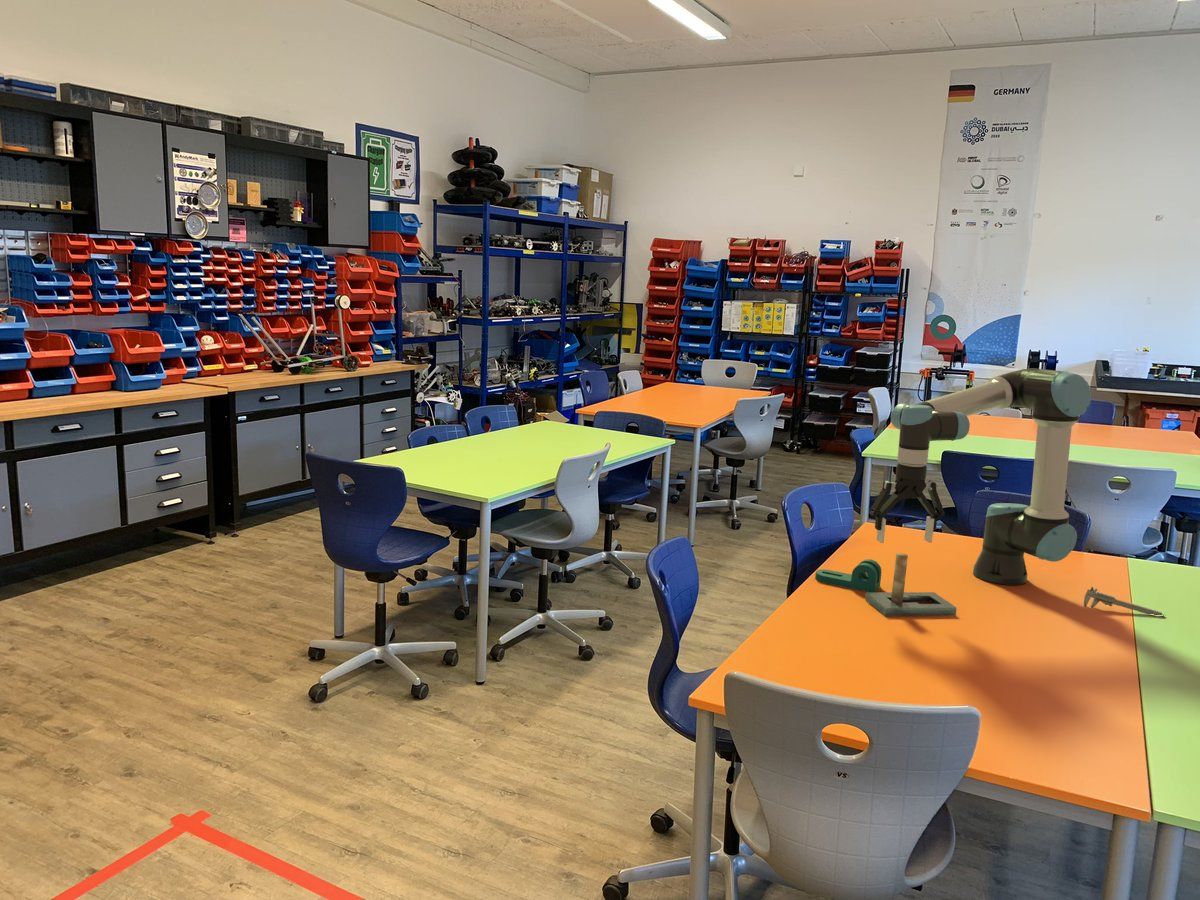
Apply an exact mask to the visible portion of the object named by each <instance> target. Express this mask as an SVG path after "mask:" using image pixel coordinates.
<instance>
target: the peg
mask: <svg viewBox="0 0 1200 900" xmlns="http://www.w3.org/2000/svg"><path fill="white" fill-rule="evenodd" d="M908 557H909V555H908V554H907V553H903V552H897V553H896V554H895V561H894V570H893V579H892V580H893V581H892V589H891V592H892V596H891V601H892V602H893V603H904V602H903V595H904V592H905V584H906V576H907V567H908V566H907V565H908V559H909V558H908Z"/></svg>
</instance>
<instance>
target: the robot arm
mask: <svg viewBox="0 0 1200 900" xmlns="http://www.w3.org/2000/svg"><path fill="white" fill-rule="evenodd" d="M1091 401H1092V391H1091V387H1090V384H1089V383H1088V381H1087V380H1086V379H1085V378H1084V377H1083V376H1082V375H1080V374H1079V373H1078V374H1077V373H1073V372H1069V371H1063V370H1055V369H1054V370H1053V369H1045V368H1044V369H1043V368H1042V369H1041V368H1037V367H1035V368H1034V367H1033V368H1032V367H1031V368H1029V367H1028V368H1022V369H1018V370H1014V371H1010V372H1006V373H1003V374H999V375H997V376H994V377H992V378H990V379H989V380H988V382H986V383H982V384H979V385H976V386H972V387H969V388H966V389H962V390H958V391H956V392H952V393H948V394H945V395H942V396H938V397H935V398H932V399H929V400H926V401H922V402H918V403H915V404H911V403H900V404H899V403H898V404H897V405H896V406H895V407H893V409H892V411H891V414H890V421H891V424H892V426H893V427H894V428H895V429H898V430H899V437H898V438H899V439H898V440H899V441H898V447H897V448H898V451H897V463H896V469H895V481H894V482H893V481H889V480H884V481H883V483H882V484H883V485H882V489H881V490H880V492H879V494H878V496H876V499H875V500H874V503H873V504H872V506H871V507H870V509H869V512H868V513H869V514H870V515H871V516H873V517H875V521H874V522H875V523H874V529H876V531H877V533H876V541H877V542H879V543H880V544H884V543H885V533H886V523H887V519H886V518H885V516H886V515H887V514H888V513H889V512H890V511H891V510H892V509H893V508H894V506H895V505H897V503H898V502H900V501H901V500H902V499H904V500H908V499H913V500H916V499H917V500H918V501H919V502H920V504H921V505H922V507H923V508H924V509H925V510H926V512H927V514H928V515H929V516H926V520H925V528H924V529H925V530H924V536H923V537H924V541H926V542H927V543H933V537H934V536H933V535H934V530H936V529H937V523H938V520H939V519H941V517H944V516H945V515H946V512H945V510H944V507H943V504H942V502H941V500H940V496H939V494H938V491H937V483H936V482H935V481H932V480H927V481H926V478H927V477H926V476H927V469H928V467H927V464H928V460H929V451H930V450H929V449H930V442H934V441H935V442H936V441H937V442H938V441H939V442H940V441H957V440H963V439H965V437H967V436H968V434H969V432H970V425H971V424H970V420H969V418H968V417H969V416H973V415H975V414H978V413H982V412H984V411H989V410H992V409H996V408H997V409H999V410H1003V409H1007V408H1012V407H1013V408H1025V409H1029V410H1030V409H1031V410H1032V415H1031V416H1032V417H1031V418H1032V420H1034V422H1036V424H1037V425H1036V428H1037V429H1036V437H1035V438H1036V440H1035V449H1034V460H1033V473H1032V481H1031V482H1032V485H1031V494H1030V495H1031V496H1030V505H1027V504H1023V503H1022V504H1021V503H1009V502H1008V503H1006V502H1005V503H1004V502H1000V503H999V502H998V503H992V504H990V505H989V506H988V507H987V511H986V515H985V521H984V528H983V529H984V530H983V531H984V532H983V539H982V540H983V541H982V547H981V548H982V549H981V551H980V553H979V555H978V557H977V559H976V560H975V561H976V562H975V563H974V565H973V568H972V574H973V575H974V577H976V578H978V579H981V580H983V581H986V582H988V583H989V582H990V583H994V584H999V585H1005V586H1006V585H1007V586H1018V585H1019V586H1020V585H1024V584H1026V583H1027V581H1028V571H1027V566H1026V561H1025V557H1024V556H1025V554H1027V555H1029V556H1030V555H1031V556H1033V557H1035V558H1038V559H1039V560H1045V561H1048V562H1052V563H1054V562H1060V561H1061V560H1064V559H1065V558H1067V557H1068V556H1069V554H1071V553H1072V551H1073V549H1074V548H1075V546H1076V544H1077V539H1078V534H1077V530H1076V529H1075V527H1074V526H1073V525H1071V524H1069V520H1070V514H1069V513H1068V512H1067V510H1066V509H1065V500H1066V490H1067V480H1068V469H1069V458H1070V450H1071V449H1070V448H1071V440H1072V439H1071V437H1072V428H1073V426H1074V425H1075V424H1076V423H1078V422H1079V419H1080V416H1082V415H1083V414H1085V413H1086V412H1087V410H1088V409H1087V408H1089V407H1090V405H1091ZM893 489H895V490H894V491H893V492H892V490H893ZM925 489H926V490H927V492H928V495H929V497H930V500H931V503H932V505H933V506H932V505H931V504H930V501H929V500H928V499H927V497H926V495H925V494H924V493H923V491H924V490H925ZM891 492H892V493H891ZM890 493H891V494H890ZM890 495H891V496H890ZM889 496H890V497H889ZM888 497H889V498H888Z"/></svg>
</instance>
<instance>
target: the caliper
mask: <svg viewBox="0 0 1200 900" xmlns="http://www.w3.org/2000/svg"><path fill="white" fill-rule="evenodd" d="M1091 598H1092V599H1093V600H1092V601H1091V602H1090V603H1091V604H1090V606H1089V607H1090V608H1091V609H1094V608H1095V607H1096V606H1097V605H1098V603H1100V602H1101V603H1103V604H1104V605H1107V606H1109V607H1112V606H1113V605H1115V606H1118V607H1123V608H1126V609H1128V610H1133V611H1135V612H1138V613H1143V614H1145V615H1149V614H1154V615H1163V616H1164V615H1165V614H1163V612H1162V611H1158V610H1155V609H1152V608H1148V607H1145V606H1141V605H1138V604H1135V603H1131V602H1128V601H1126V600H1121V599H1118V598H1116V597H1115V596H1113V595H1110V594H1107V593H1103V592H1100V591H1098V588H1097V587H1095V588H1094V587H1093V586H1091V588H1090V589H1087V590H1086V592H1085V594H1084V599H1083V606H1084V607H1085V608H1086V607H1087V606H1088V603H1089V601H1090V600H1091Z"/></svg>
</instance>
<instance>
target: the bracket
mask: <svg viewBox="0 0 1200 900" xmlns="http://www.w3.org/2000/svg"><path fill="white" fill-rule="evenodd" d="M814 579H815V580H816V581H817V582H819V583H822V584H827V585H832V586H838V587H842V588H847V589H852V590H857V591H860V592H877V591H878V590H879V589H880V587H881V583H882V582H881V579H882V567H881V565H880V564H879V563H878V562H877V561H875V560H874V559H869V558H868V559H867V558H866V559H864V560H862V561H861V562H860V563H858V564H857V565H856V566H855V567H854V568H853V570H852V572H851V574H850V573H845V572H842V571H836V570H832V569H824V568H823V569H817V570H816V571H815V577H814Z"/></svg>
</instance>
